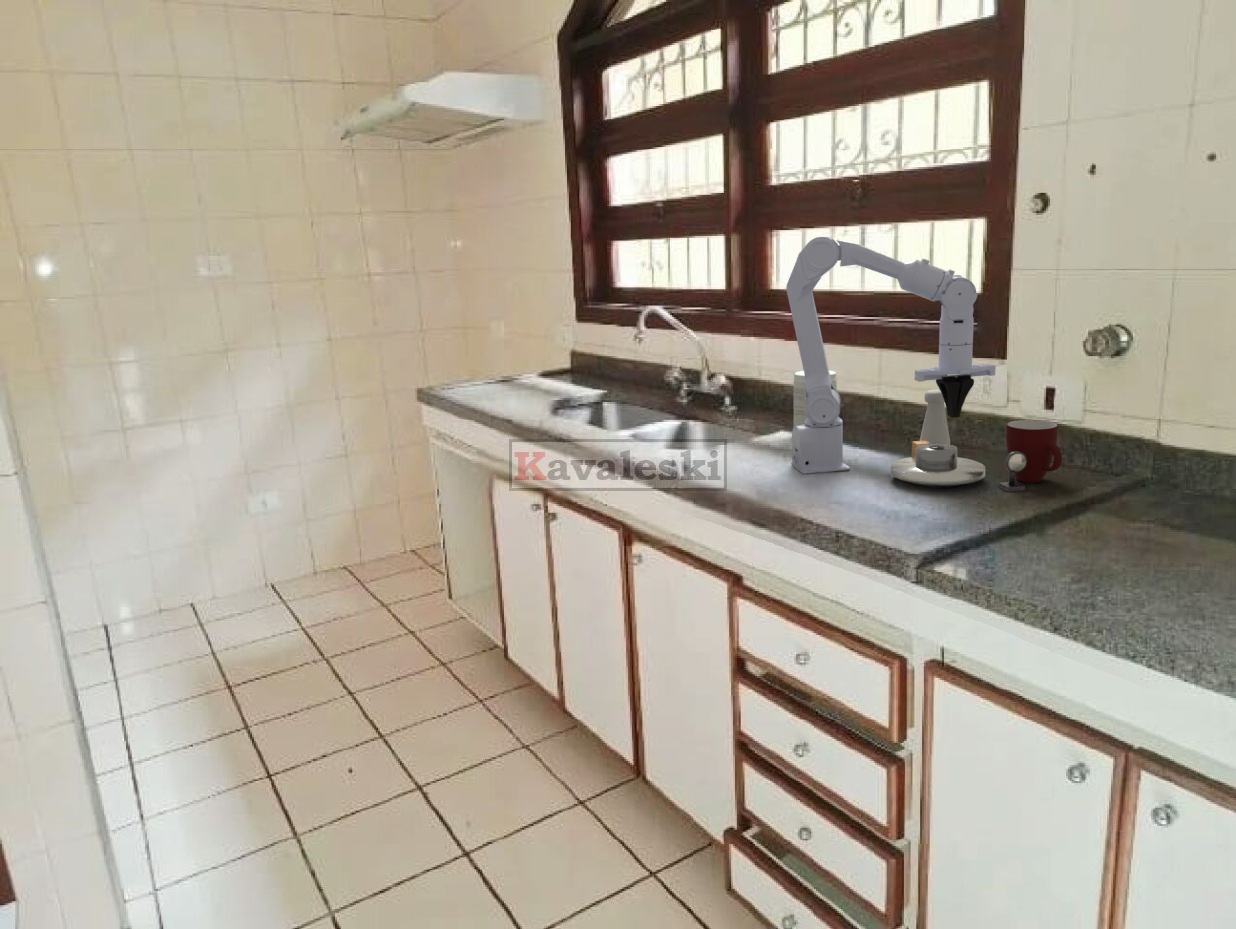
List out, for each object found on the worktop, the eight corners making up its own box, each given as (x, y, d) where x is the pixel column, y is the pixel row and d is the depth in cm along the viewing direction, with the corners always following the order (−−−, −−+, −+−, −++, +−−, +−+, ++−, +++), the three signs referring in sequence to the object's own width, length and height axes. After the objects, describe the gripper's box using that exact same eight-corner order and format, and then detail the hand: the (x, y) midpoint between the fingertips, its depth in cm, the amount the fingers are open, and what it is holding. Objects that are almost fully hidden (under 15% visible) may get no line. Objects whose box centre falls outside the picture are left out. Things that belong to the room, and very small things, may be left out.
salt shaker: (951, 456, 166) (954, 392, 163) (921, 457, 168) (923, 393, 164) (946, 449, 172) (948, 387, 169) (917, 450, 173) (918, 388, 170)
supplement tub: (809, 443, 186) (809, 377, 182) (785, 435, 194) (784, 372, 191) (845, 436, 189) (845, 372, 186) (820, 429, 198) (819, 368, 194)
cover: (925, 473, 148) (926, 453, 147) (909, 463, 154) (909, 444, 154) (964, 469, 148) (964, 449, 147) (946, 460, 155) (946, 441, 154)
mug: (1077, 483, 144) (1081, 427, 142) (1045, 492, 141) (1048, 434, 138) (1025, 471, 153) (1028, 417, 151) (993, 478, 150) (996, 424, 148)
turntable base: (922, 489, 147) (922, 484, 146) (898, 475, 156) (898, 470, 156) (977, 484, 147) (977, 479, 147) (950, 470, 157) (950, 465, 157)
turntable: (913, 488, 143) (913, 465, 142) (876, 466, 159) (877, 444, 158) (1003, 480, 144) (1004, 456, 143) (958, 458, 160) (959, 437, 159)
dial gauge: (1005, 492, 142) (1007, 453, 141) (996, 487, 145) (998, 449, 143) (1026, 490, 142) (1028, 451, 141) (1016, 485, 145) (1018, 447, 144)
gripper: (927, 349, 149) (925, 423, 152) (1005, 342, 150) (1002, 417, 153) (910, 345, 156) (909, 416, 159) (985, 339, 156) (982, 410, 160)
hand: (953, 416), depth 156 cm, fingers closed
